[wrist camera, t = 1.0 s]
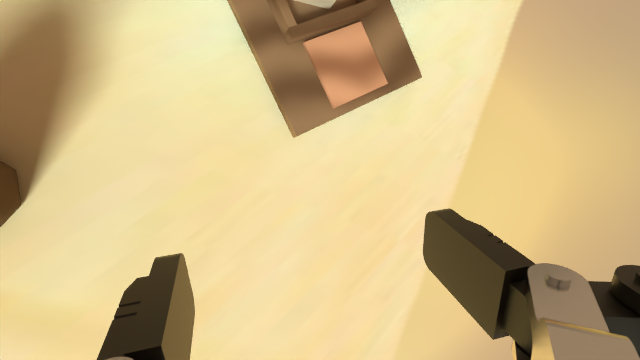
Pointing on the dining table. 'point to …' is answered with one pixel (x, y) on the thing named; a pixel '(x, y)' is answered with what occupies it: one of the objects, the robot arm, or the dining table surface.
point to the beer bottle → (8, 192)
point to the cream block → (319, 3)
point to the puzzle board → (326, 55)
